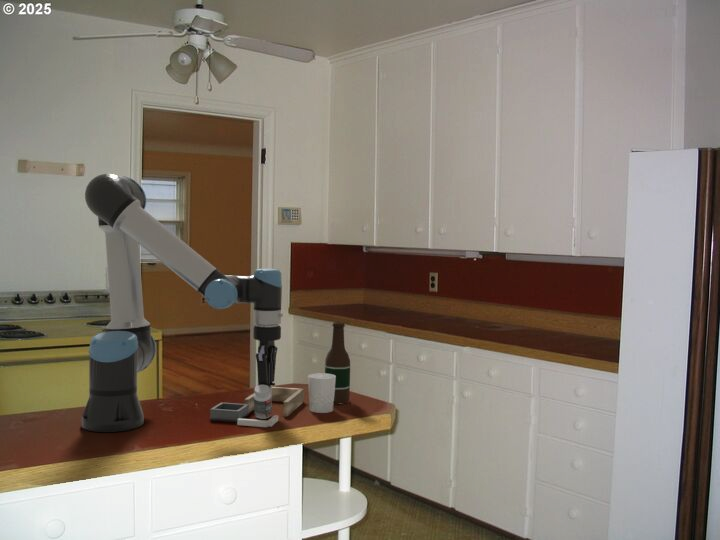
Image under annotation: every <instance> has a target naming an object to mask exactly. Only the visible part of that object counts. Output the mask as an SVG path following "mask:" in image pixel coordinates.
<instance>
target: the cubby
mask: <svg viewBox="0 0 720 540" xmlns="http://www.w3.org/2000/svg"><path fill="white" fill-rule="evenodd" d="M254 394H255V393H254V392H253V393H252V394H250V395H249V396H247V397H246V398H244V404H249V414H250V413H251V412H253V411H254ZM304 396H305V388H298V387H297V388H296V387H282V386H281V387H280V386H272V402H280V403H281V402H282V403H283V407H282V408H283V411H282V417H289V416H290V415H291V414H292V413H293V412H294V411H296V410H297V409H298V408H299V407H300V406H301V405H302V404H303V403H304V401H305V399H304V398H305V397H304Z"/></svg>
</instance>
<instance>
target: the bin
mask: <svg viewBox="0 0 720 540" xmlns="http://www.w3.org/2000/svg"><path fill="white" fill-rule="evenodd" d="M209 412H210V413H209V414H210V415H209V416H210V417H209V420H210V421H215V422H226V423H228V422H229V423H237V419H239V418H240V419H246V418H247V417H249V414H250V413H249V404H245V403H237V402H236V403H233V402H220V403H218V404H216V405H214V406H213V407H211V408H210V410H209Z"/></svg>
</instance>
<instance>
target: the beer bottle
mask: <svg viewBox="0 0 720 540" xmlns="http://www.w3.org/2000/svg"><path fill="white" fill-rule="evenodd" d="M345 326H346V325H345V323H344V322H343V321H335V322H334V321H333V322H332V327H333V328H332V338H331V339H332V340H331V345H330V346H331V347H330V349H329V351H328V352H327V353H326V357H325V361H324V362H325V363H324V373H327V374H333V375H335V376H336V381H335V394H334V402H333V405H340V404H339V403H344V404H347V403H349V402H350V395H351V394H350V389H351V388H350V387H351V384H350V383H351V359H350V356H349V354H348V352H347V351H346V348H345V347H346V346H345V334H344V333H345ZM348 401H349V402H348ZM346 402H347V403H346Z"/></svg>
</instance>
